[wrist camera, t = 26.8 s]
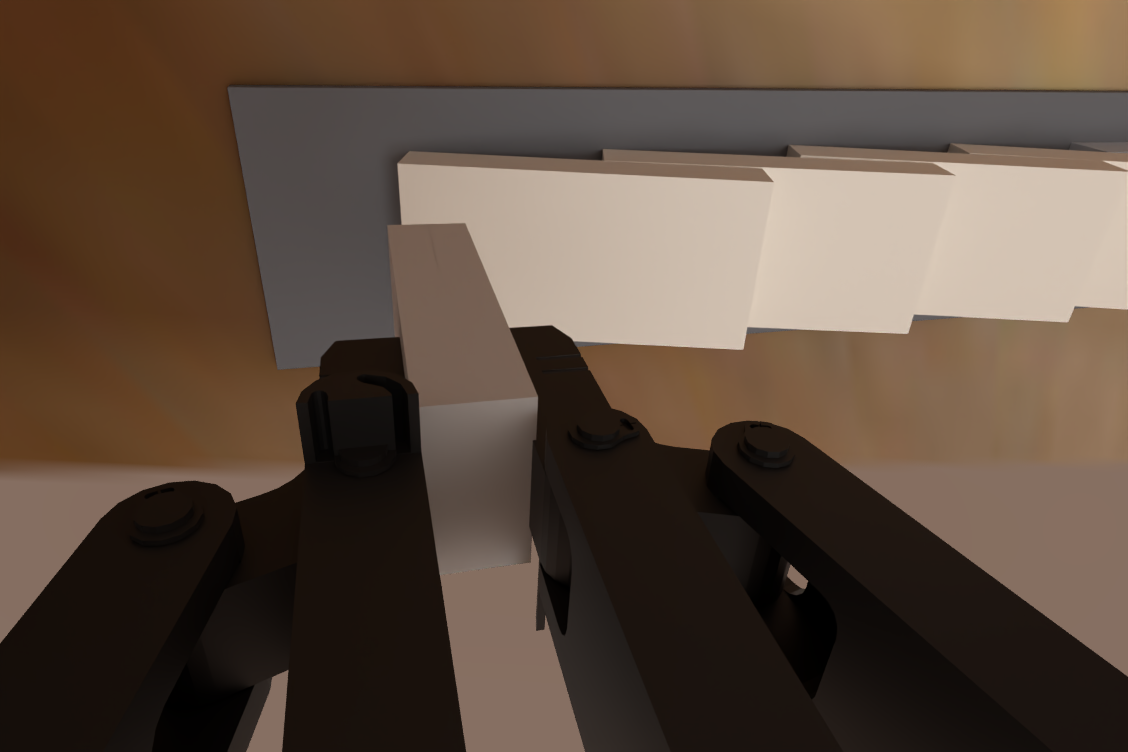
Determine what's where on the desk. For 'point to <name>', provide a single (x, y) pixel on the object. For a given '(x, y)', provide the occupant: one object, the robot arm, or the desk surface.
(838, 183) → the domino
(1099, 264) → the domino
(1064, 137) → the runway mat
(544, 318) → the domino
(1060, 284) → the domino
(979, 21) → the desk surface
